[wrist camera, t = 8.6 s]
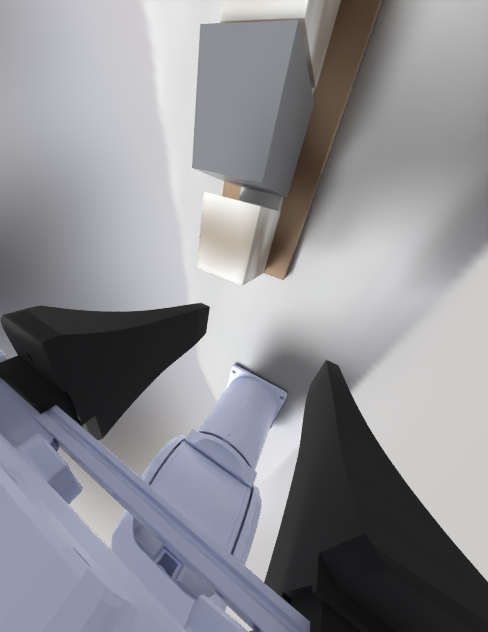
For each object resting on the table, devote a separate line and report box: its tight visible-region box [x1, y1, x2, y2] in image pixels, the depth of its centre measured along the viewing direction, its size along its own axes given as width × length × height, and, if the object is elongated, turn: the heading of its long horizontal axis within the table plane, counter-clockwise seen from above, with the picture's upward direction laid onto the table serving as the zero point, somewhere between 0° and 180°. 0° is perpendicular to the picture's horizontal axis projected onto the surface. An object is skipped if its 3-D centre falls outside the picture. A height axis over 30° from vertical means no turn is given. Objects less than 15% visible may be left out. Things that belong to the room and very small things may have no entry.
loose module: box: [192, 20, 314, 198], centre depth 11 cm, size 5×4×6 cm
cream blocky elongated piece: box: [197, 0, 383, 285], centre depth 12 cm, size 17×8×6 cm, turn 166°
